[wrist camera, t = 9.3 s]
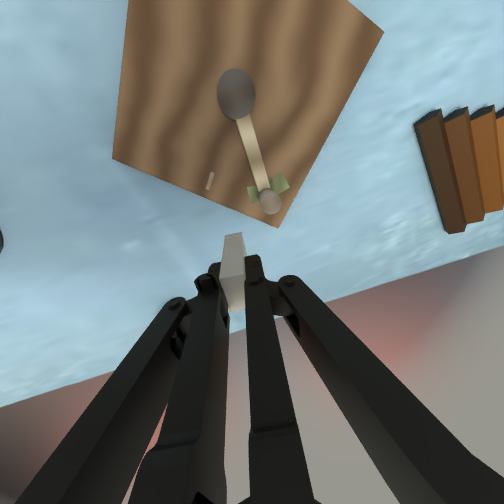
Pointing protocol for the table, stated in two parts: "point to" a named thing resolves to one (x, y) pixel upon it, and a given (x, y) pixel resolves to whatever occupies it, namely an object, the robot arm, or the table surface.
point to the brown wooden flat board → (265, 81)
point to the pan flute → (464, 163)
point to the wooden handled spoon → (246, 129)
